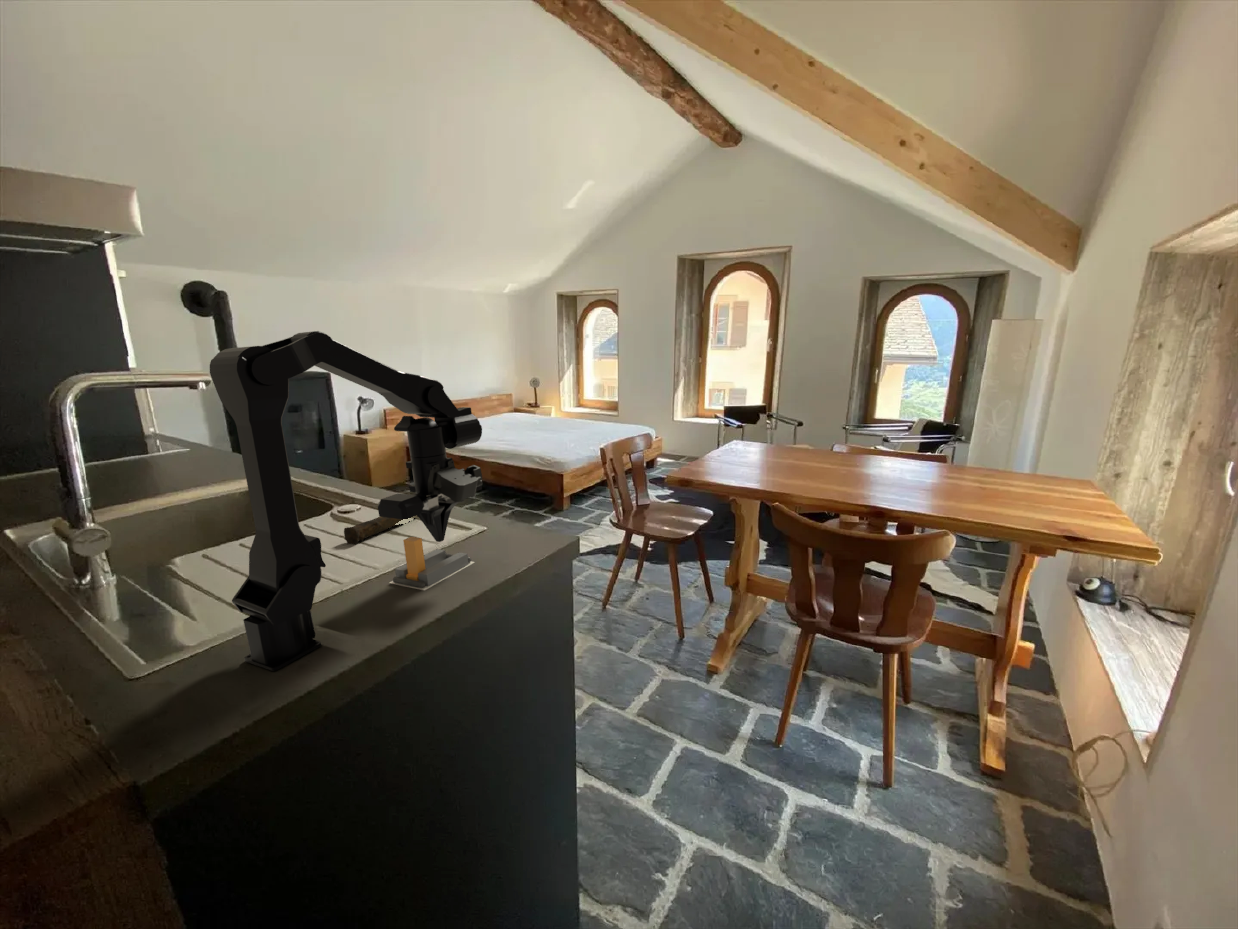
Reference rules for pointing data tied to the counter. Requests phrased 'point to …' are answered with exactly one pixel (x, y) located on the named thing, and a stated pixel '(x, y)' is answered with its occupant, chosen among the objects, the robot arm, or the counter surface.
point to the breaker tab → (414, 557)
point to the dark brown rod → (368, 529)
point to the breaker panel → (433, 569)
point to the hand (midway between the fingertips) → (440, 541)
